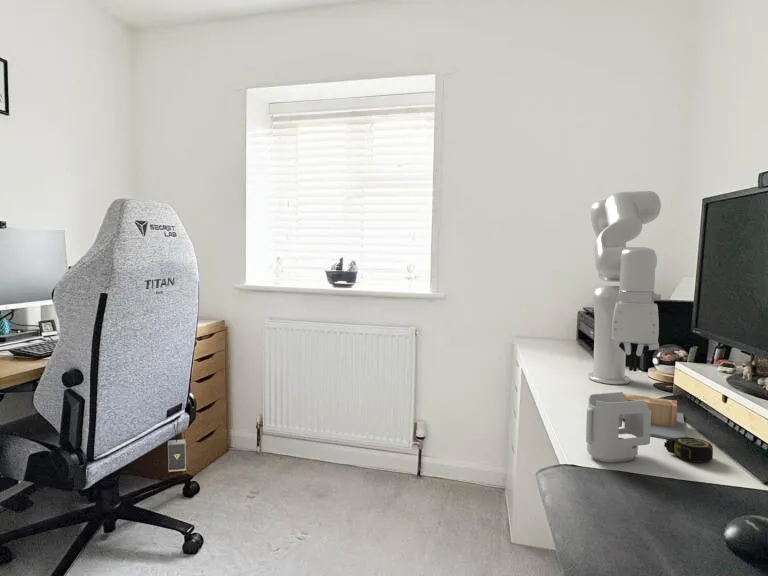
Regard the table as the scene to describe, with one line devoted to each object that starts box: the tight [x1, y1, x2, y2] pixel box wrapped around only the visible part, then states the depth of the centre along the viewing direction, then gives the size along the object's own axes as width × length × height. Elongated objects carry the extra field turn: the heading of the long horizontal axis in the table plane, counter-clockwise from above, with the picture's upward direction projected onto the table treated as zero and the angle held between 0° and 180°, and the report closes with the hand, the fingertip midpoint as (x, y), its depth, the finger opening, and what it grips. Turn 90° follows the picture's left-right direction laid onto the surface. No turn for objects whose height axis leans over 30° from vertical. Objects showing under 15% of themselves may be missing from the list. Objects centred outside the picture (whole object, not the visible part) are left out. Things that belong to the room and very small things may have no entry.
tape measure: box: [663, 436, 714, 463], centre depth 90 cm, size 7×7×4 cm
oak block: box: [622, 392, 678, 427], centre depth 110 cm, size 5×5×12 cm
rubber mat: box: [650, 412, 687, 440], centre depth 109 cm, size 20×12×1 cm, turn 147°
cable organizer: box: [585, 391, 651, 464], centre depth 90 cm, size 7×13×12 cm, turn 103°
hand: (633, 369), depth 112 cm, fingers closed
